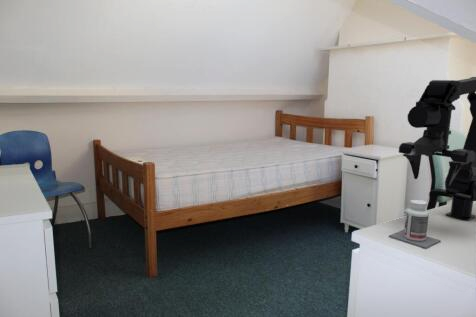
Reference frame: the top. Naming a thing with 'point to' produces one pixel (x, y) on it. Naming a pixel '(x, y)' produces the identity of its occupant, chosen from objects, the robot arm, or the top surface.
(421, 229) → the pill bottle
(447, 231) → the top surface
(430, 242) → the slate mat
